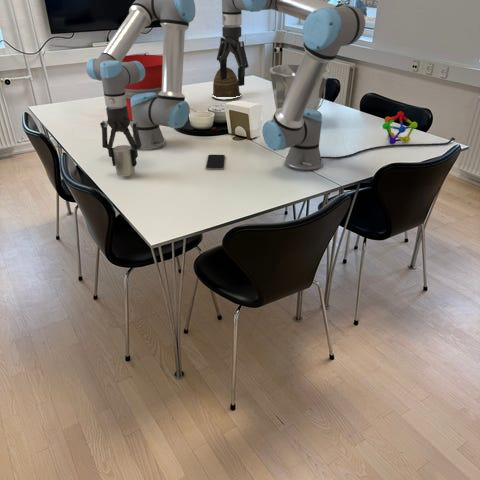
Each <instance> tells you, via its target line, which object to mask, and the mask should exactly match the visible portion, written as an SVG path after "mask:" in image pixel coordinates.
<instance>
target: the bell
mask: <svg viewBox="0 0 480 480" xmlns="http://www.w3.org/2000/svg"><path fill="white" fill-rule="evenodd" d="M224 63H228V58H227V59H226V62H224ZM212 83H213V84H212V95H214V96H216V97H236V96H240V95H241V96H242V93H241V92H240V86H238V76H237V75H236V73H235V72H234V70H232V69H231V68H230V67H227V79H223V80H221V79H220V68H219V69H218V70H217V71H216V73H215V75H214V78H213V81H212Z"/></svg>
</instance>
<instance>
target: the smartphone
mask: <svg viewBox="0 0 480 480" xmlns="http://www.w3.org/2000/svg"><path fill="white" fill-rule="evenodd" d="M225 160H226V155H225V154H208V156H207V161H206V164H205V165H206V166H205V169H207V170H224V167H225Z"/></svg>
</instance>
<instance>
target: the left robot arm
mask: <svg viewBox="0 0 480 480" xmlns="http://www.w3.org/2000/svg"><path fill="white" fill-rule="evenodd" d="M195 16H196V3H195V0H135V1H133V2H132V4H131V5H130V7H129V9H128V14H127V16H126V18H125V19H124V21H122V23H121V25H120V26H119V27H118V29H117V31H115V33H114V35H113V36H112V37H111V39H110V41H108V42H107V43H108V44H107V45H106V46H105V48H104V49H103V51H102V52H101V53H100V55H99V56H98V58H90V59H89V60H88V61H87V63H86V66H85V69H86V74H87V75H88V77H90V79H92V80H95V81H99V82H101V84H102V90H103V97H104V103H105V106H106V108H105V111H106V116H107V120H102V121H100V123H99V124H100V128H101V142H102V143H101V144H102V145H101V146H102V148H103V149H106V150H107V153H108V157H109V158H111V162H112V163H111V164H112V167H115V160H114V154H113V148H114V147H113V145H114V142H115V137H116V133H123V135H124V136H125V138H126V139H127V141H128V143H129V146H131V147H132V150H131V156H132V163H133V167H136V166H137V165H138V163H137V158H138V157H139V152H138V150H141V151H151V150H153V151H154V150H157V149H161V148H163V147H164V146H165V144H166V140H165V137H164V135H163V132H162V130H161V127H166V128H170V129H173V128H174V129H181V128H182V127H184V126H185V125H186V124H187V122H188V120H189V117H190V111H191V108H190V104H189V103H188V101H186V96H185V94H183V74H184V54H185V53H184V52H185V35H186V31H187V30H188V29H189V28H190V27H189V26H190V23H192V22H193V21H194V19H195ZM154 21H159V24H160V26H161V27H162V29H163V39H162V56H163V66H162V90H161V91H160V92H159V93H158V98H157V95H156V93H153V92H149V93H141V94H137V95H134V96H132V97H131V111H132V119H133V121H130V120H129V118H128V110H127V106H126V105H127V102H126V95H125V86H128V85H131V84H135V83H138V82H140V81H142V80H143V79H144V77H145V69H144V66H143V65H142V64H141V63H140V62H138V61H130V62H122V60H123V59H124V57H125V56H127V55H128V53H129V51H130V50H131V48H132V47H133V46H134V45H135V43H136V41H137V39H138V38H139V37H140V35H141V33H143V31H144V29H145V28H147V27H149V26H150V25H151V24H152V23H153V22H154ZM108 126H109V127H110V128H111V129H110V135H109V139H108ZM129 126H130V128H131V129H132V133H131V132H130V129H129ZM160 126H161V127H160Z"/></svg>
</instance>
